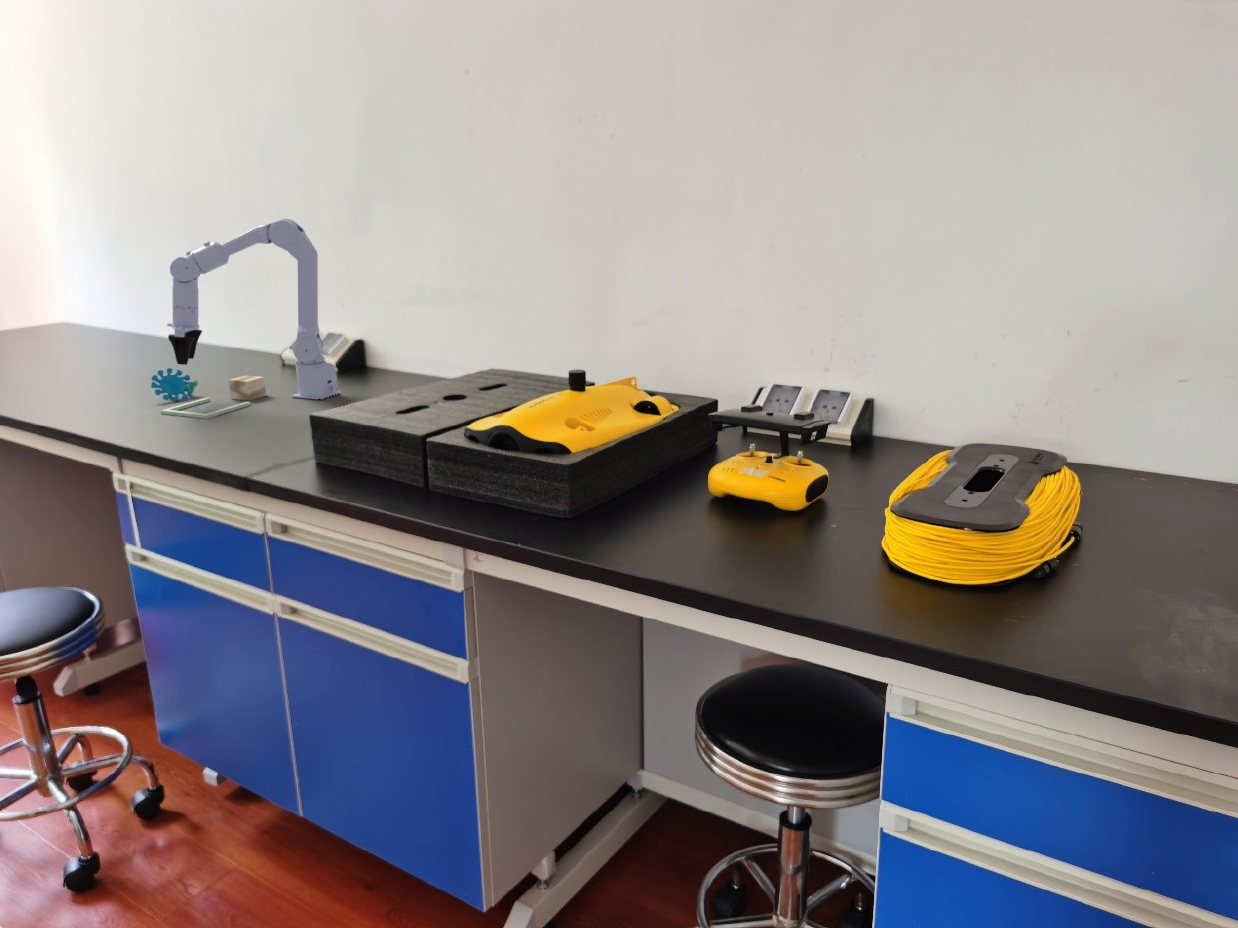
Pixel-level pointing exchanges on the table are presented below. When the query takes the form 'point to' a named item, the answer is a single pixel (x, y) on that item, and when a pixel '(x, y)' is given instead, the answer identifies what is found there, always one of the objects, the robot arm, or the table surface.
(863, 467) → the table surface
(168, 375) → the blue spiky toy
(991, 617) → the table surface
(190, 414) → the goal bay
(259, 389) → the block
